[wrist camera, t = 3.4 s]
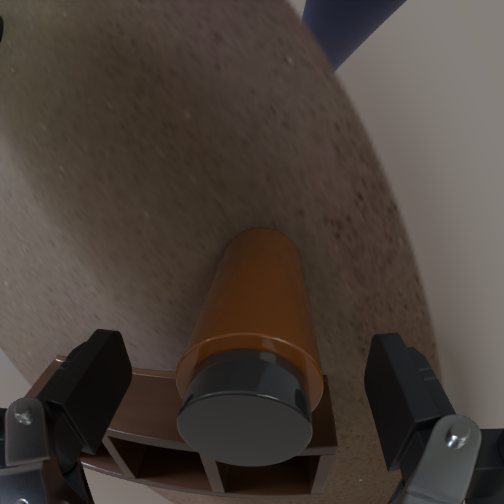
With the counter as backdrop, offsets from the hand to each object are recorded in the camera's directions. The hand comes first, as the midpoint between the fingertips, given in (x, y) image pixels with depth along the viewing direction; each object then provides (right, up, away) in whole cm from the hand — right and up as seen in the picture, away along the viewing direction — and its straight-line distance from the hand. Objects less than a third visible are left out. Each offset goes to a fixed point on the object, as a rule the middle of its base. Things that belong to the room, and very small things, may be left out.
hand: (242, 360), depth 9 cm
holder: (-5, -8, +11) cm, 14 cm away
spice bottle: (+1, +3, +6) cm, 7 cm away
